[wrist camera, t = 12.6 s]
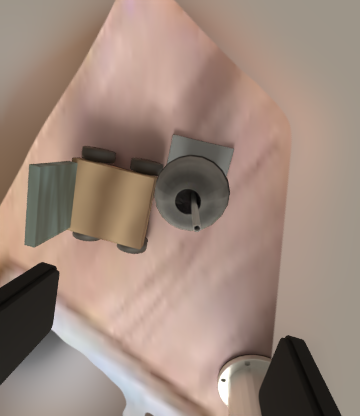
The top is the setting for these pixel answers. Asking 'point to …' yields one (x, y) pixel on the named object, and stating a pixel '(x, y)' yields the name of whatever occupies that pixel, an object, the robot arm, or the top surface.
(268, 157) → the top surface
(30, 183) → the trolley
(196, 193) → the beverage cup
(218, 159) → the mat
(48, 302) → the robot arm
